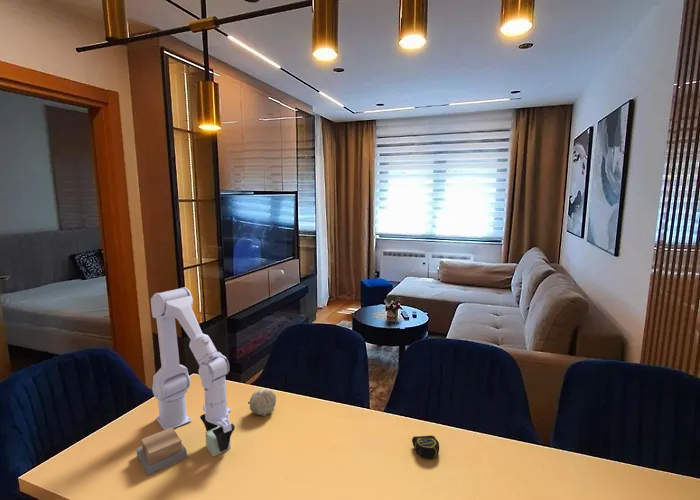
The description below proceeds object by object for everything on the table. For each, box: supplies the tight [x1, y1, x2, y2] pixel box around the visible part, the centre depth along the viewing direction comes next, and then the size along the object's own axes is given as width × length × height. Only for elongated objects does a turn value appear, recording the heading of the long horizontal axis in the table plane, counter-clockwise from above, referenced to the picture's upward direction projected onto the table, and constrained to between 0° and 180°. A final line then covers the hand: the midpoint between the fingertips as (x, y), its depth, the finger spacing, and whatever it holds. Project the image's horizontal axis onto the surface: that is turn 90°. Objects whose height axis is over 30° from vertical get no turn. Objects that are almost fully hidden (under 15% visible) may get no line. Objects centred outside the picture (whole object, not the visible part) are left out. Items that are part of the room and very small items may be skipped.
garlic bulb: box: [247, 388, 277, 417], centre depth 123 cm, size 9×8×10 cm
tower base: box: [136, 442, 188, 477], centre depth 103 cm, size 10×10×3 cm
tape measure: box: [411, 435, 440, 459], centre depth 104 cm, size 7×7×4 cm
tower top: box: [141, 427, 183, 464], centre depth 102 cm, size 8×8×3 cm
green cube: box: [205, 426, 231, 457], centre depth 106 cm, size 5×5×5 cm
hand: (218, 443), depth 106 cm, fingers open, 7 cm apart
